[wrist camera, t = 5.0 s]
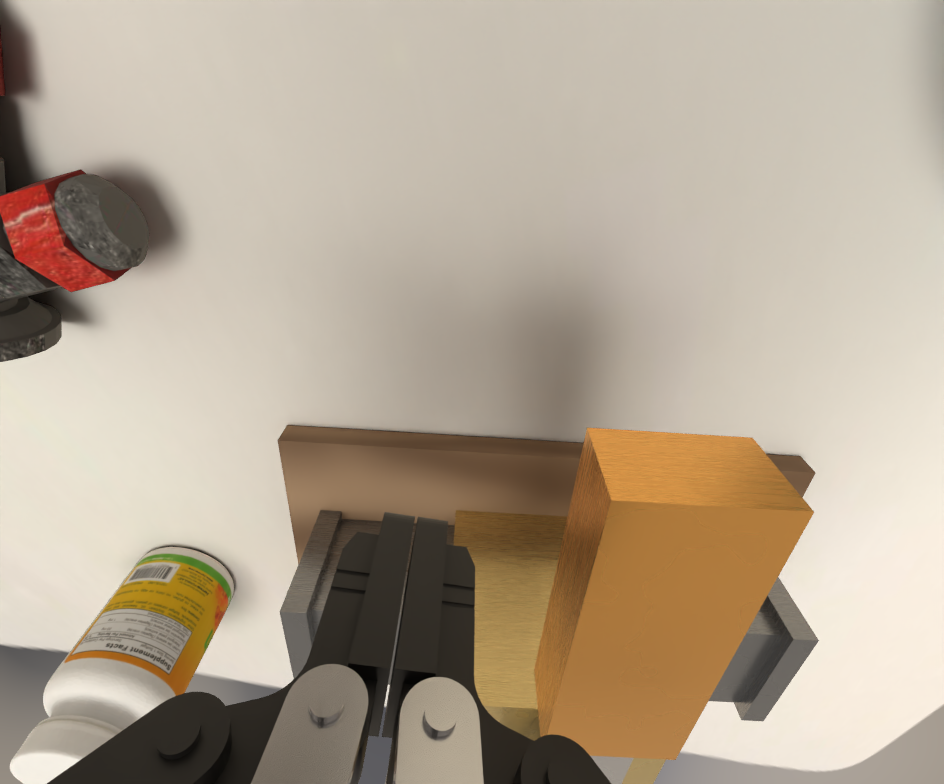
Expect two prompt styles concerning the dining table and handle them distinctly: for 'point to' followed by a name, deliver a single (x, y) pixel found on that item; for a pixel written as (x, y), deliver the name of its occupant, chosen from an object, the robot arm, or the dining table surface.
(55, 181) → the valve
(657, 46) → the dining table surface
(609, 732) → the valve lever
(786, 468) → the walnut board
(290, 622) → the valve and pipe
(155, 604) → the supplement bottle
